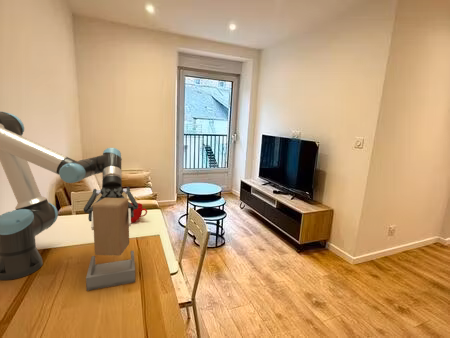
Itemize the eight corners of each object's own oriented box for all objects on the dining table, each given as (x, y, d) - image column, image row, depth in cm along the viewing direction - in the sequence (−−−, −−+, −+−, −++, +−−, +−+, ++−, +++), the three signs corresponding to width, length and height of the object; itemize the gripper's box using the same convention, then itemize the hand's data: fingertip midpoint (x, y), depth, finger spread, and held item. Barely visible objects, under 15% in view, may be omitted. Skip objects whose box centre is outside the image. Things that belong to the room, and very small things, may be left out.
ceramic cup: (141, 226, 150) (141, 210, 148) (116, 223, 153) (115, 207, 151) (152, 219, 162) (151, 204, 161) (128, 216, 165) (128, 202, 164)
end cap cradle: (86, 290, 89) (86, 278, 89) (92, 267, 104) (91, 256, 104) (135, 282, 95) (135, 270, 95) (133, 261, 110) (133, 250, 110)
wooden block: (130, 244, 103) (129, 197, 100) (120, 256, 93) (119, 205, 90) (105, 243, 103) (103, 196, 100) (93, 256, 93) (91, 204, 90)
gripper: (142, 182, 113) (145, 227, 102) (80, 185, 104) (76, 234, 93) (142, 173, 108) (145, 219, 96) (77, 175, 99) (72, 226, 87)
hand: (111, 226), depth 94 cm, fingers closed on wooden block, 12 cm apart
